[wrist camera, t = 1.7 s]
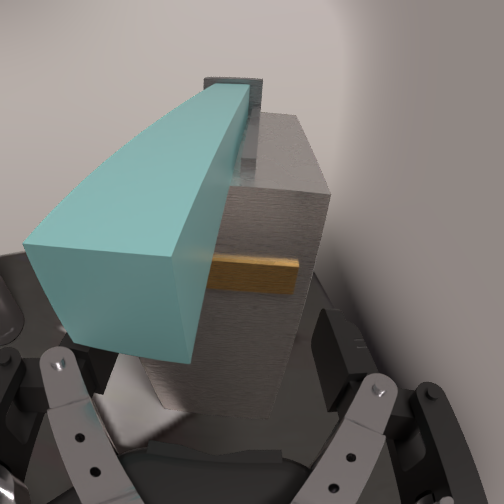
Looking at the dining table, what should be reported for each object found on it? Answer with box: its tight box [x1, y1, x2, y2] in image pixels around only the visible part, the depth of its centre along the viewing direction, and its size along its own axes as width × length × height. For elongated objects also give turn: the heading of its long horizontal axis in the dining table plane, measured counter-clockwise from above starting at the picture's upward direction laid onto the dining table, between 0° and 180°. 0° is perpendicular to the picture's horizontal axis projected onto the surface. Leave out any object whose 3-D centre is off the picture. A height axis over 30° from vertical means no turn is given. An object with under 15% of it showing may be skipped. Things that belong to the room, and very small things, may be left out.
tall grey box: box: [139, 77, 331, 419], centre depth 31 cm, size 20×14×36 cm
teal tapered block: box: [23, 83, 250, 364], centre depth 17 cm, size 27×4×4 cm, turn 178°
